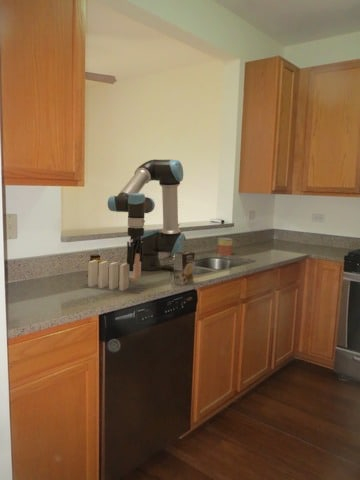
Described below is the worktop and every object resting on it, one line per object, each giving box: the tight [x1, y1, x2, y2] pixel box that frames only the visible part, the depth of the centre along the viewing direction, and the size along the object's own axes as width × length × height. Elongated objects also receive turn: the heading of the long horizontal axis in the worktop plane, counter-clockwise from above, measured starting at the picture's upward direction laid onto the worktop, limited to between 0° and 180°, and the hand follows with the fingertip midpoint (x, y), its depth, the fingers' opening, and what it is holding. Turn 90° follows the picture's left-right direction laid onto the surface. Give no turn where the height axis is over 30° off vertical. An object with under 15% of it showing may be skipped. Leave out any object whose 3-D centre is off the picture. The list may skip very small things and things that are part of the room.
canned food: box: [216, 237, 234, 256], centre depth 299 cm, size 11×11×12 cm
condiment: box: [88, 253, 102, 270], centre depth 211 cm, size 7×8×12 cm
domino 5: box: [129, 253, 140, 282], centre depth 184 cm, size 2×6×12 cm, turn 163°
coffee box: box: [172, 250, 196, 286], centre depth 205 cm, size 9×6×16 cm
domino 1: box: [87, 260, 98, 287], centre depth 191 cm, size 2×6×12 cm, turn 162°
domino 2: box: [98, 260, 109, 288], centre depth 190 cm, size 2×6×12 cm, turn 162°
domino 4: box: [119, 262, 130, 291], centre depth 186 cm, size 2×6×12 cm, turn 163°
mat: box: [80, 283, 148, 295], centre depth 189 cm, size 11×30×1 cm, turn 73°
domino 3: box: [108, 261, 119, 289], centre depth 188 cm, size 2×6×12 cm, turn 163°
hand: (134, 276), depth 185 cm, fingers closed on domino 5, 6 cm apart
